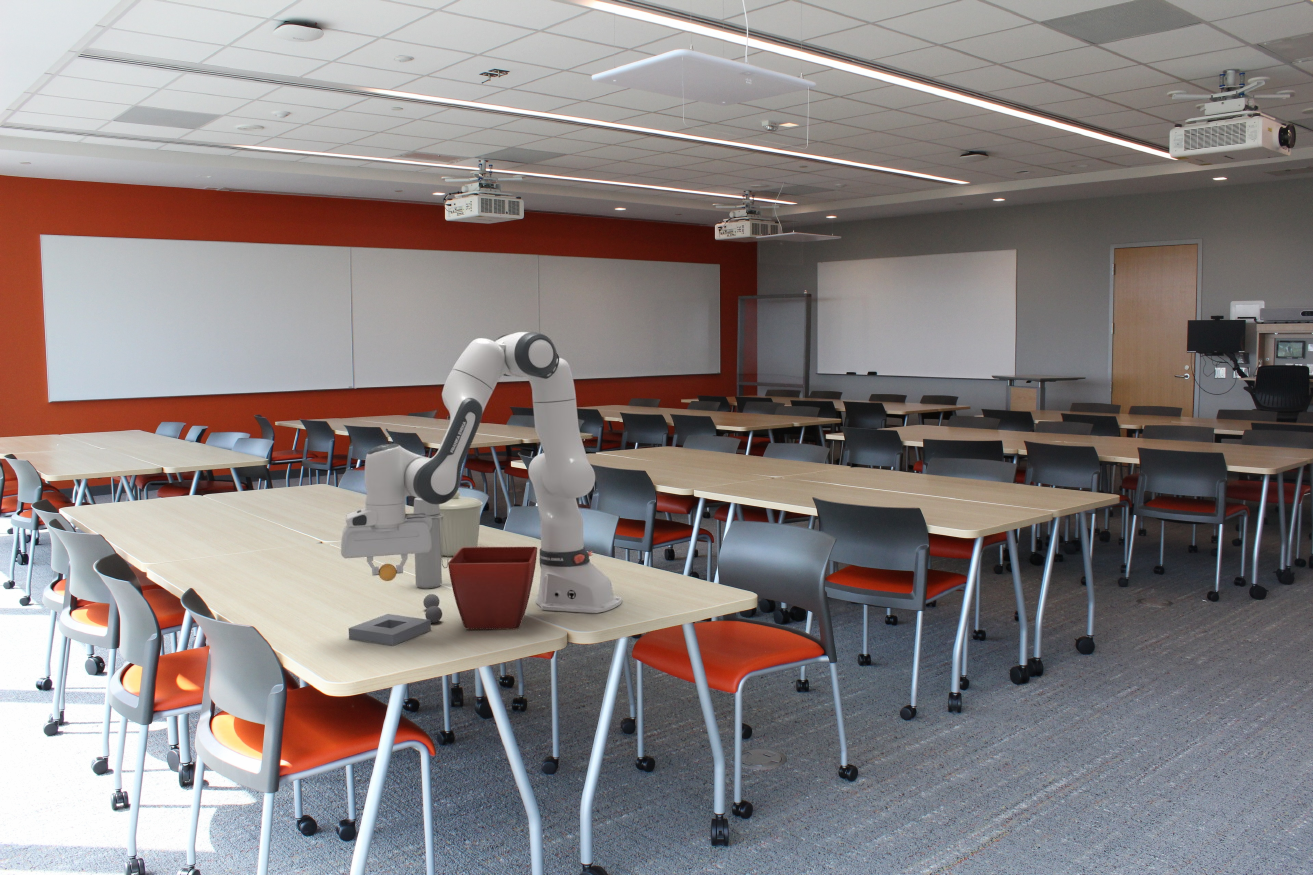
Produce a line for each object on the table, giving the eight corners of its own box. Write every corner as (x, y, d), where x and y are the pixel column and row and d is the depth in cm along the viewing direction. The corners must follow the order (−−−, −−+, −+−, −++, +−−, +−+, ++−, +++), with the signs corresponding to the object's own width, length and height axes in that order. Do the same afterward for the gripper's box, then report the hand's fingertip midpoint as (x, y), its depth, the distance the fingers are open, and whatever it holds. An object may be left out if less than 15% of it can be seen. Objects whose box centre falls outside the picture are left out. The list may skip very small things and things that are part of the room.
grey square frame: (430, 630, 222) (430, 619, 222) (393, 645, 210) (392, 634, 210) (388, 623, 228) (387, 613, 227) (349, 638, 216) (348, 628, 216)
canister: (489, 556, 303) (487, 491, 301) (432, 561, 296) (430, 495, 294) (478, 545, 320) (476, 484, 318) (424, 550, 313) (422, 487, 311)
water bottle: (415, 590, 260) (412, 500, 258) (415, 583, 267) (412, 496, 265) (449, 587, 262) (447, 499, 260) (448, 581, 270) (445, 495, 268)
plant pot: (539, 611, 238) (537, 545, 236) (532, 633, 219) (530, 562, 217) (463, 612, 237) (461, 546, 236) (449, 635, 218) (446, 563, 217)
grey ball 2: (445, 621, 229) (445, 605, 229) (435, 625, 226) (434, 609, 225) (432, 619, 231) (432, 603, 231) (422, 623, 228) (421, 607, 227)
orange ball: (400, 579, 219) (400, 562, 218) (388, 583, 215) (388, 566, 215) (387, 578, 221) (386, 561, 220) (375, 581, 217) (374, 564, 217)
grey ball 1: (443, 608, 241) (442, 593, 241) (432, 612, 237) (432, 596, 237) (430, 606, 243) (430, 591, 242) (420, 610, 239) (419, 595, 239)
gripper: (430, 510, 223) (432, 567, 224) (339, 515, 216) (341, 574, 217) (433, 514, 217) (435, 573, 218) (339, 519, 210) (342, 580, 211)
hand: (387, 574), depth 218 cm, fingers closed on orange ball, 4 cm apart
